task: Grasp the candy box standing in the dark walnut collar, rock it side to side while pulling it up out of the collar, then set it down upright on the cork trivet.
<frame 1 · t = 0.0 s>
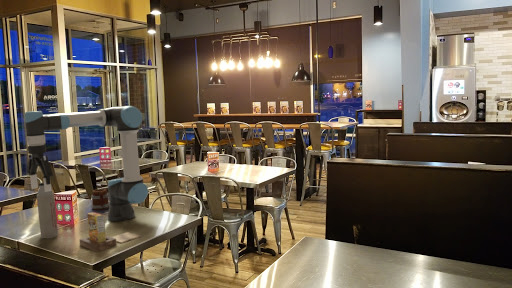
hand: (41, 189, 197), 28 cm above the table, fingers open, 13 cm apart
collar: (98, 245, 200), on the table
candy box: (98, 245, 200), resting in collar
trivet: (124, 238, 209), on the table
thermos bottle: (49, 236, 218), on the table
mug: (101, 208, 271), on the table
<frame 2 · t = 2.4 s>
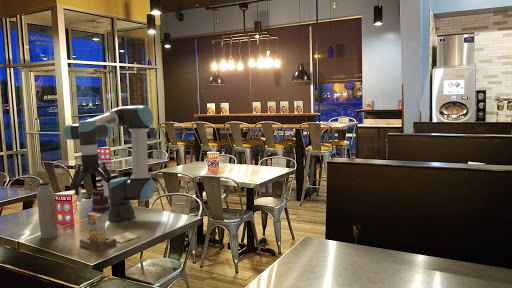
hand: (93, 198, 197), 23 cm above the table, fingers open, 13 cm apart
nothing on the table moved.
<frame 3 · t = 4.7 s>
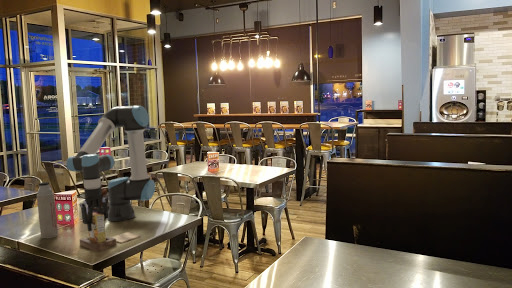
hand: (97, 235, 200), 5 cm above the table, fingers closed on candy box, 4 cm apart
candy box: (98, 245, 200), resting in collar, touching gripper
everything else where it was.
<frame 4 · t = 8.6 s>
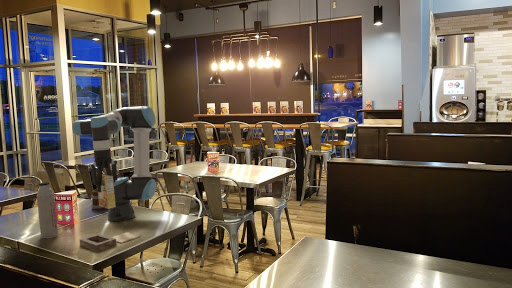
hand: (106, 197, 202), 22 cm above the table, fingers closed on candy box, 4 cm apart
candy box: (107, 207, 203), point 17 cm above the table, touching gripper
everything else where it was.
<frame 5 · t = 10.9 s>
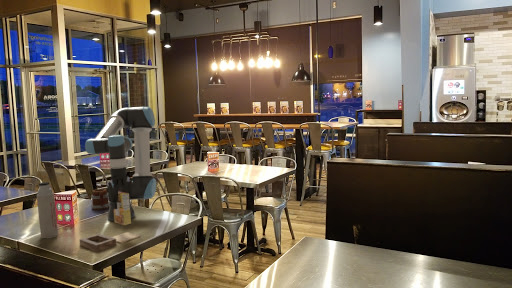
hand: (122, 213, 208), 12 cm above the table, fingers closed on candy box, 4 cm apart
candy box: (123, 223, 208), point 8 cm above the table, touching gripper
everything else where it was.
when the fingers open (6 cm above the table, at t = 12.8 s): candy box stays where it is, resting on trivet.
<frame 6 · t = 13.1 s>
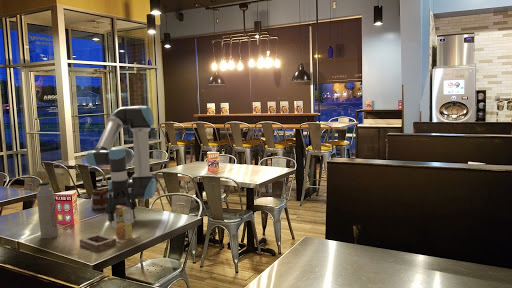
hand: (123, 224, 208), 7 cm above the table, fingers open, 9 cm apart
candy box: (124, 237, 209), resting on trivet
everything else where it was.
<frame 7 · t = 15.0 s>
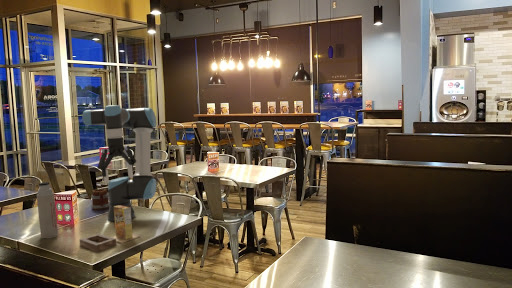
hand: (119, 180, 207), 29 cm above the table, fingers open, 13 cm apart
nothing on the table moved.
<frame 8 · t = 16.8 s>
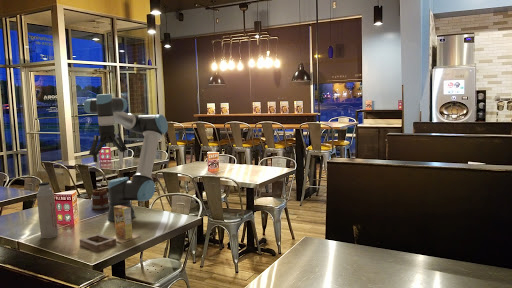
hand: (110, 166, 215), 35 cm above the table, fingers open, 13 cm apart
nothing on the table moved.
at the end: candy box inside the target area (0.1 cm from its centre), resting on trivet; candy box tilted 0°; candy box touching trivet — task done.
